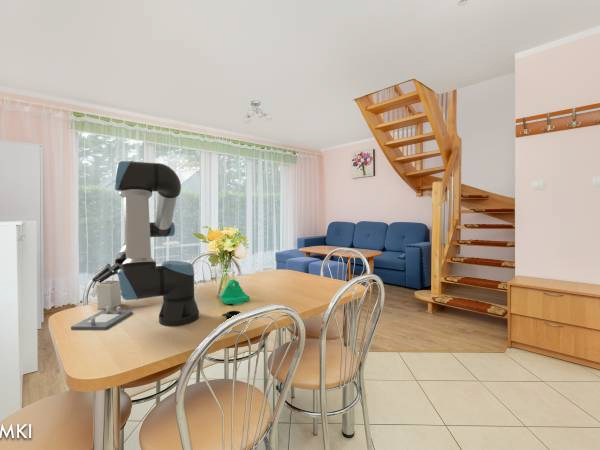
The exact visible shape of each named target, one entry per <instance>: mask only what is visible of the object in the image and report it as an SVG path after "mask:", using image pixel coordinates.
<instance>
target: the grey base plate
mask: <svg viewBox="0 0 600 450" xmlns="http://www.w3.org/2000/svg"><path fill="white" fill-rule="evenodd" d="M132 314H133V310H122V309H121V306H117V307H116V310H111V309H110V307H106V309H105V310H101V311H99V312H98V313H95V314H93V315H92V316H90V317H88V318H84V319H83V320H82V321H80V322H77V323H75V324H73V325H71V327H70V329H71V330H100V331H101V330H103V331H104V330H105V331H106V330H108V329H109V328H111V327H112V326H115V325H116V324H117V323H119V322H121V321H123V320H124V319H126V318H127V317H129V316H131V315H132Z"/></svg>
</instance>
